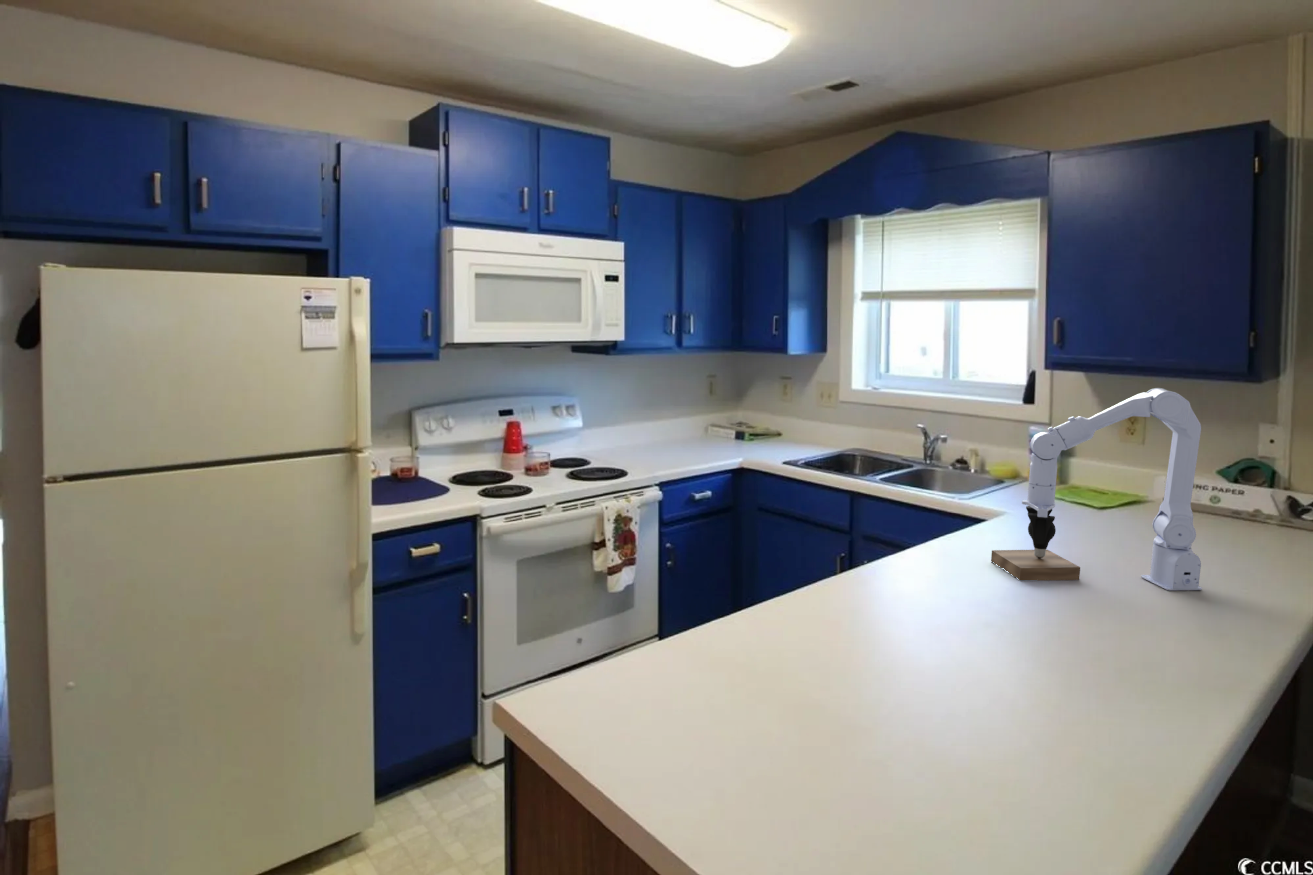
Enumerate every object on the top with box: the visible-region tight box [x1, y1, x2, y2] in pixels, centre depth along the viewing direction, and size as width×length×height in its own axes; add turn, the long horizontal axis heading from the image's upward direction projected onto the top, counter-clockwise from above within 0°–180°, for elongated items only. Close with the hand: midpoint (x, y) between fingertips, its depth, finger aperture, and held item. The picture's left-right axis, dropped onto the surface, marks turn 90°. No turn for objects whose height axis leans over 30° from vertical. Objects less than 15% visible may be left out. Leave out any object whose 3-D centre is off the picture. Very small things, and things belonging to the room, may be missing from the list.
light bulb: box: [1027, 521, 1057, 559], centre depth 187 cm, size 6×6×10 cm
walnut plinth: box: [990, 549, 1081, 581], centre depth 189 cm, size 14×14×3 cm
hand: (1037, 540), depth 188 cm, fingers closed on light bulb, 6 cm apart
